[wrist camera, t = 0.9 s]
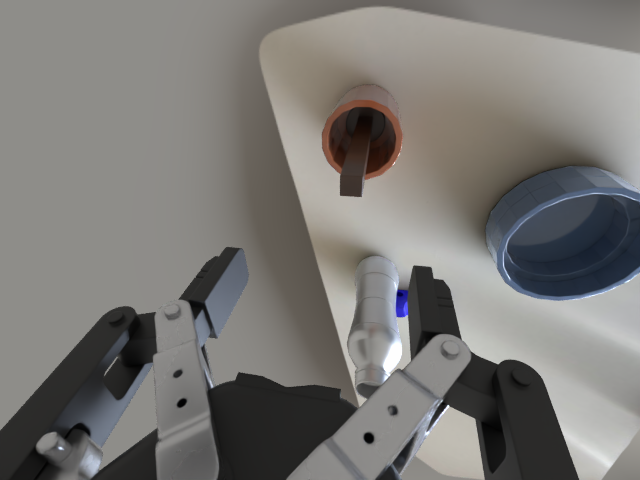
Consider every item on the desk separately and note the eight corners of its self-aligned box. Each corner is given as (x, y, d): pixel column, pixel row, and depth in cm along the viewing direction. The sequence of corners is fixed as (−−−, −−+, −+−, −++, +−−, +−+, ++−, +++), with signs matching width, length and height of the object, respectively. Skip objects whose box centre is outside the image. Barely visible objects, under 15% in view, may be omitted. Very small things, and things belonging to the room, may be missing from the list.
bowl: (505, 161, 35) (523, 183, 31) (660, 167, 33) (706, 192, 28) (471, 263, 44) (481, 293, 40) (591, 274, 42) (617, 306, 37)
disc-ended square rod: (347, 101, 34) (319, 154, 21) (387, 101, 34) (385, 157, 20) (346, 140, 37) (321, 211, 23) (383, 141, 36) (380, 215, 23)
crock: (333, 84, 34) (320, 99, 28) (403, 84, 33) (407, 100, 26) (333, 151, 38) (322, 177, 32) (395, 153, 37) (397, 181, 31)
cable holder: (392, 304, 52) (392, 322, 49) (393, 289, 50) (393, 307, 47) (441, 308, 51) (445, 327, 47) (445, 293, 49) (449, 312, 45)
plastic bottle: (382, 243, 45) (379, 365, 29) (407, 272, 48) (416, 401, 32) (347, 261, 48) (327, 381, 32) (372, 288, 51) (365, 412, 35)
